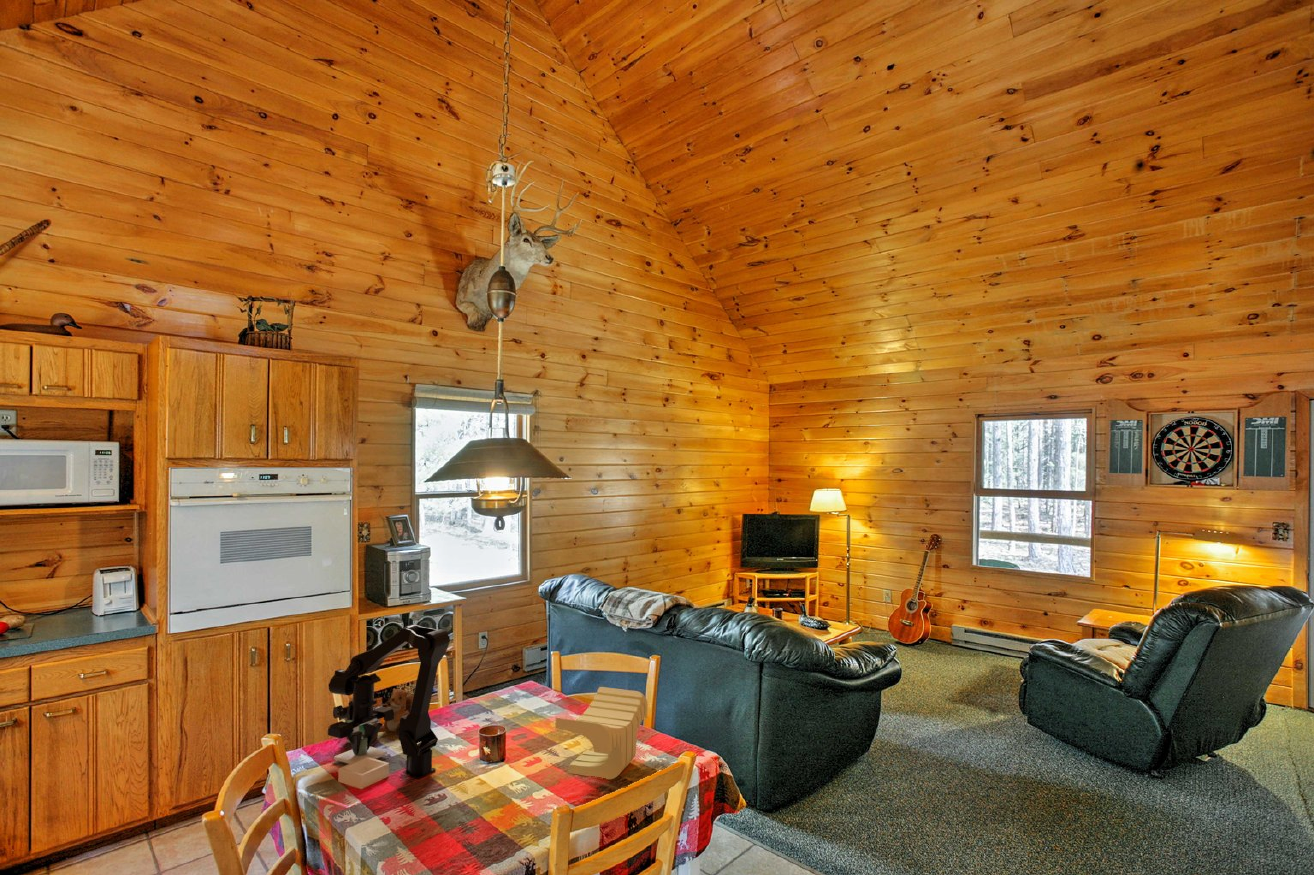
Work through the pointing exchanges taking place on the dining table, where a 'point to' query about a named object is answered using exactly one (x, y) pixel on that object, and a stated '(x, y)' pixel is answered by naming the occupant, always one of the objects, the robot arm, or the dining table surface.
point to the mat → (347, 763)
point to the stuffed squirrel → (398, 709)
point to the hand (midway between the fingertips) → (361, 752)
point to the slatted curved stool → (608, 732)
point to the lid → (360, 753)
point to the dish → (363, 772)
